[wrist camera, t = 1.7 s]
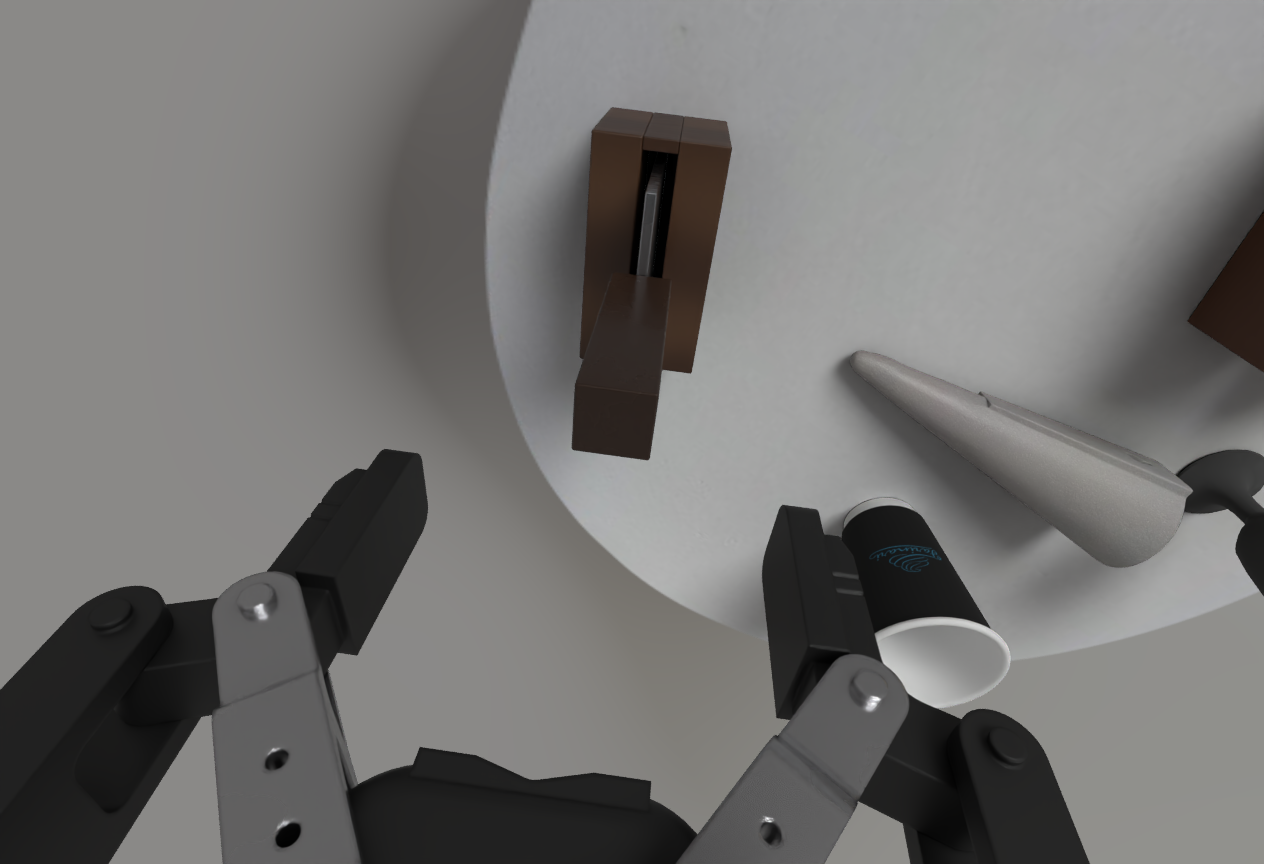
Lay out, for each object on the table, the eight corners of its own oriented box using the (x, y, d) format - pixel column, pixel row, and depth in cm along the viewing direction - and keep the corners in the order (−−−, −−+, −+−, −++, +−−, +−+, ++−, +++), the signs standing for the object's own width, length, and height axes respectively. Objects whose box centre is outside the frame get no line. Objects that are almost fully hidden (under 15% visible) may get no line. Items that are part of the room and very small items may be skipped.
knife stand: (610, 106, 28) (591, 129, 23) (727, 121, 28) (732, 147, 23) (597, 307, 34) (579, 359, 29) (692, 320, 34) (691, 374, 29)
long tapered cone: (808, 462, 34) (1121, 588, 34) (869, 362, 30) (1211, 502, 31) (799, 418, 39) (1071, 529, 39) (850, 328, 36) (1144, 449, 36)
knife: (643, 134, 29) (579, 276, 14) (689, 140, 28) (674, 288, 14) (627, 294, 33) (567, 524, 19) (666, 299, 33) (638, 535, 19)
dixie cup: (861, 579, 44) (901, 726, 35) (795, 518, 41) (821, 660, 33) (965, 530, 41) (1040, 679, 32) (901, 458, 38) (963, 600, 29)
